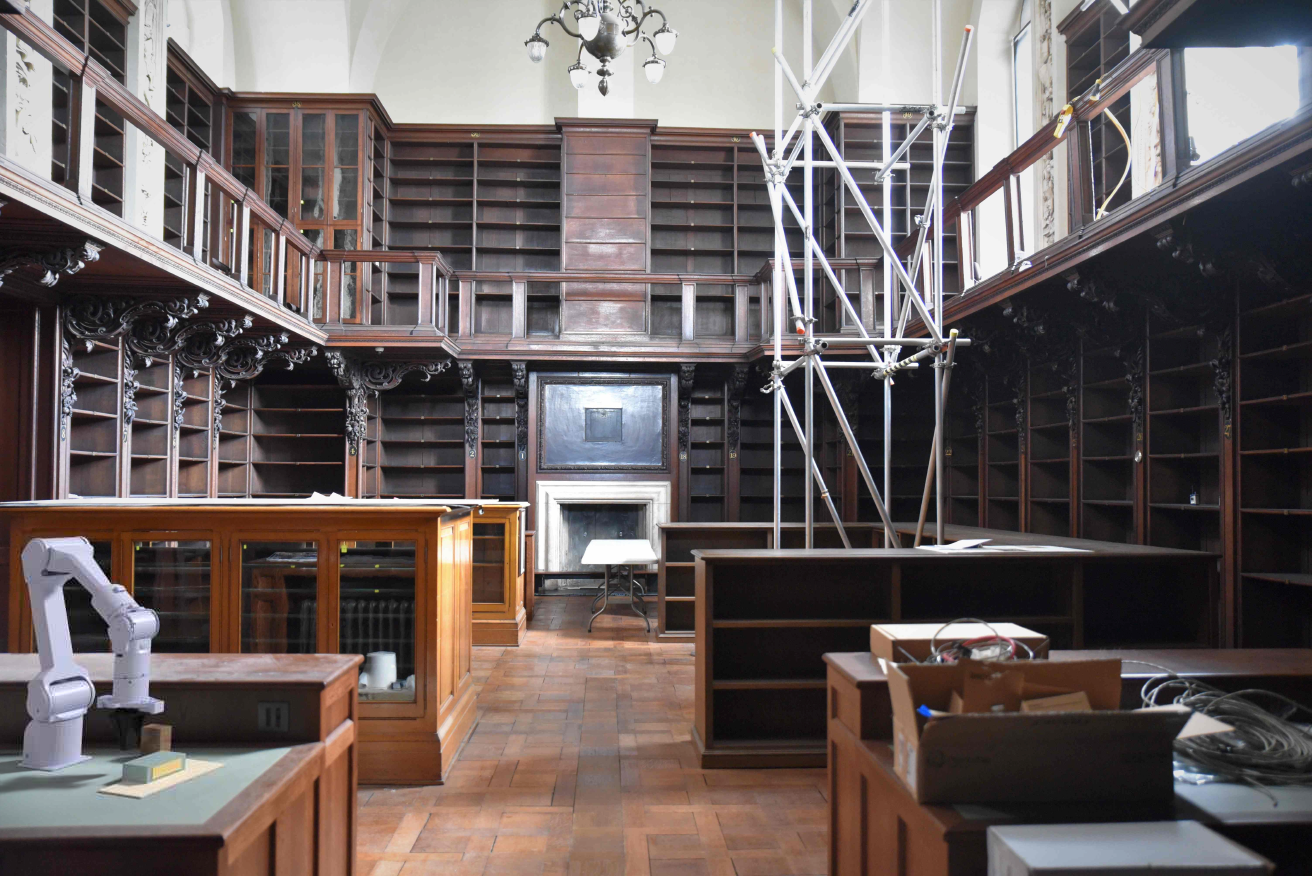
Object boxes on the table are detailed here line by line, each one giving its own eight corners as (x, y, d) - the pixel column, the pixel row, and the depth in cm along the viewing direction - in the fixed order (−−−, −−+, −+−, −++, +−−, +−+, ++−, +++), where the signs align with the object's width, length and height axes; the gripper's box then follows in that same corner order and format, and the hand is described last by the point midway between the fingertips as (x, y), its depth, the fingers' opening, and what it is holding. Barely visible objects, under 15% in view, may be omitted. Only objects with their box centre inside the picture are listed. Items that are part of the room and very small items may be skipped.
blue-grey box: (122, 763, 147) (148, 766, 145) (161, 750, 154) (186, 753, 153) (121, 780, 147) (147, 784, 145) (161, 766, 154) (185, 769, 152)
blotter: (98, 791, 142) (98, 790, 142) (186, 760, 159) (186, 758, 159) (140, 798, 139) (141, 796, 139) (226, 765, 156) (226, 764, 156)
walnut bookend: (140, 757, 160) (141, 727, 161) (151, 754, 162) (152, 723, 163) (159, 760, 159) (160, 729, 159) (170, 756, 161) (171, 726, 161)
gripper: (83, 677, 151) (79, 751, 150) (141, 682, 147) (137, 759, 146) (118, 669, 158) (114, 740, 157) (174, 674, 154) (171, 747, 153)
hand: (127, 748), depth 152 cm, fingers closed
